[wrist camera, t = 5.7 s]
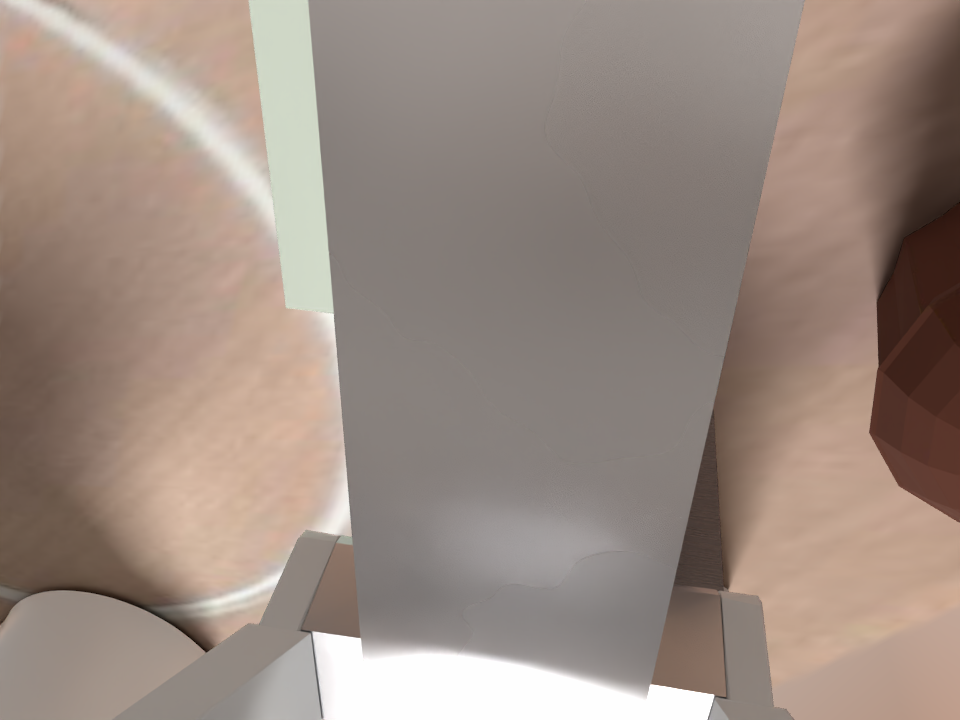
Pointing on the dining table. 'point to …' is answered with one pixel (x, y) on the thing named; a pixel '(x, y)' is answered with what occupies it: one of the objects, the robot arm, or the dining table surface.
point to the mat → (293, 149)
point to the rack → (703, 527)
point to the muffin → (922, 366)
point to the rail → (533, 325)
